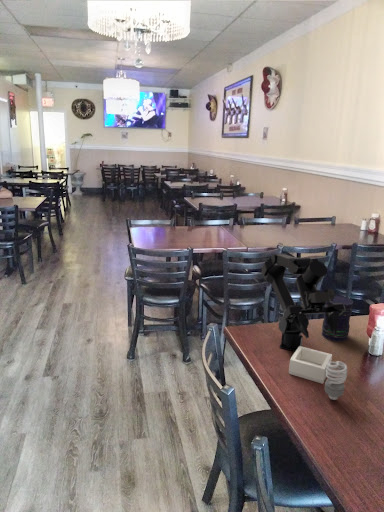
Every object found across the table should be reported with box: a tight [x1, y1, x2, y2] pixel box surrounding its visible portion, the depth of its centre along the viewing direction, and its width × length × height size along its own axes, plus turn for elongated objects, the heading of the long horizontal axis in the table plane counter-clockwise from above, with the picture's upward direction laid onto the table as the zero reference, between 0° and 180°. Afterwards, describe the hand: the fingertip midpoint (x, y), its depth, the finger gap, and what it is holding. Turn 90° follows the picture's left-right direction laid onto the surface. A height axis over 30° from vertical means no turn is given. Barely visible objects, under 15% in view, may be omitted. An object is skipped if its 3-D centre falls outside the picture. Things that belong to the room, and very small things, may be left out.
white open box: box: [288, 345, 333, 384], centre depth 130 cm, size 11×11×5 cm
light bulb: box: [324, 360, 348, 401], centre depth 114 cm, size 6×6×12 cm
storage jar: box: [321, 294, 354, 343], centre depth 154 cm, size 10×10×15 cm
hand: (321, 336), depth 124 cm, fingers open, 9 cm apart
